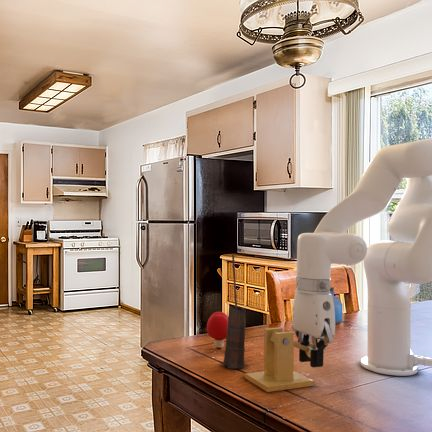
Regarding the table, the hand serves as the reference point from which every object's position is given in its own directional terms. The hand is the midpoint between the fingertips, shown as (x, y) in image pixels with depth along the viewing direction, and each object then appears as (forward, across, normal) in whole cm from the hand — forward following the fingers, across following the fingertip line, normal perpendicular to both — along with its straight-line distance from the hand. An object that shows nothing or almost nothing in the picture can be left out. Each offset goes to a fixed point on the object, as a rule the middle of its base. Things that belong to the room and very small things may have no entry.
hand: (310, 363), depth 110 cm
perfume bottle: (+2, +48, -46) cm, 66 cm away
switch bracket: (+4, 0, +9) cm, 10 cm away
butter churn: (+4, +12, +12) cm, 18 cm away
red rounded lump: (+4, +28, +9) cm, 30 cm away
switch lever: (-3, 0, +5) cm, 6 cm away
